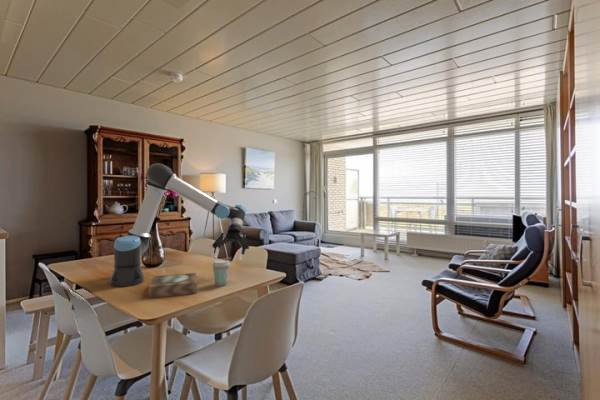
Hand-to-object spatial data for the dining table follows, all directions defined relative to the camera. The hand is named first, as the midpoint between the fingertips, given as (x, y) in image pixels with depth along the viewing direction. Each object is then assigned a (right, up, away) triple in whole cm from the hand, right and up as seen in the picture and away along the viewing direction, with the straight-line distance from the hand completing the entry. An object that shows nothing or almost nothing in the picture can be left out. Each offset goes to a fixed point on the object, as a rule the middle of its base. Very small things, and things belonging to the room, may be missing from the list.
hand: (227, 258), depth 158 cm
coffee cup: (-2, -12, -7) cm, 14 cm away
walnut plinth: (-22, -12, -16) cm, 29 cm away
